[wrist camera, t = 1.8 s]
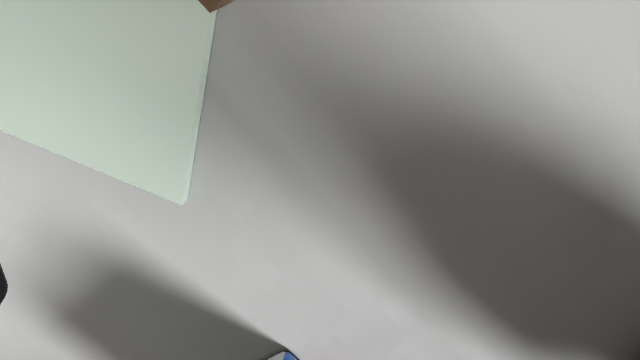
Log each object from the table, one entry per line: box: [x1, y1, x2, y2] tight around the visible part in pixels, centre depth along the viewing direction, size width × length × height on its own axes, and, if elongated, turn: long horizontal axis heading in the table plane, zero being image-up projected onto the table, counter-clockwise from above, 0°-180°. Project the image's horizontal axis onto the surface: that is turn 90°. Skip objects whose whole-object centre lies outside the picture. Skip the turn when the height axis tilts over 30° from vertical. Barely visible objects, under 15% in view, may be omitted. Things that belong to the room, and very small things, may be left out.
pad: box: [0, 0, 217, 206], centre depth 22 cm, size 10×10×1 cm
